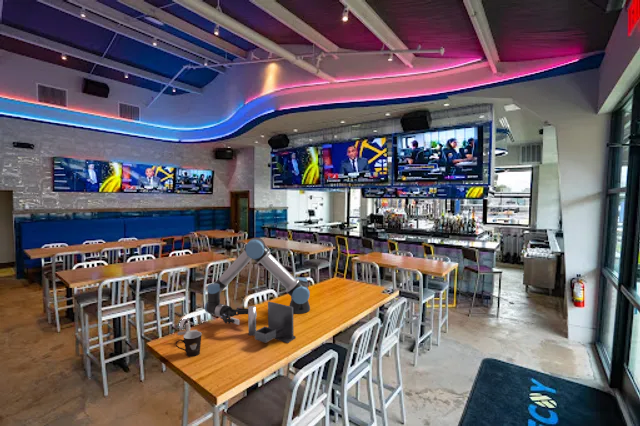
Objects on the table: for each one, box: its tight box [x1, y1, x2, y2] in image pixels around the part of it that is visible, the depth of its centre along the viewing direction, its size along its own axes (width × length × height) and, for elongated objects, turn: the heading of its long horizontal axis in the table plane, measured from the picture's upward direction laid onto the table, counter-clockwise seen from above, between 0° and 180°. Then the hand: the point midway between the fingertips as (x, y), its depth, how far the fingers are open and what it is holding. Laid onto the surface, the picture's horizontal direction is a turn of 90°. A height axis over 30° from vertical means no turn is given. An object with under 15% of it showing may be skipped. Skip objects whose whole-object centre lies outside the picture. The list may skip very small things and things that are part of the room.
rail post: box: [247, 305, 257, 337], centre depth 181 cm, size 4×4×16 cm
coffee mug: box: [175, 330, 203, 358], centre depth 158 cm, size 12×9×10 cm
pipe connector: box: [177, 322, 198, 336], centre depth 172 cm, size 10×10×10 cm
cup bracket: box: [254, 301, 297, 344], centre depth 171 cm, size 19×18×19 cm
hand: (247, 318), depth 182 cm, fingers open, 13 cm apart
